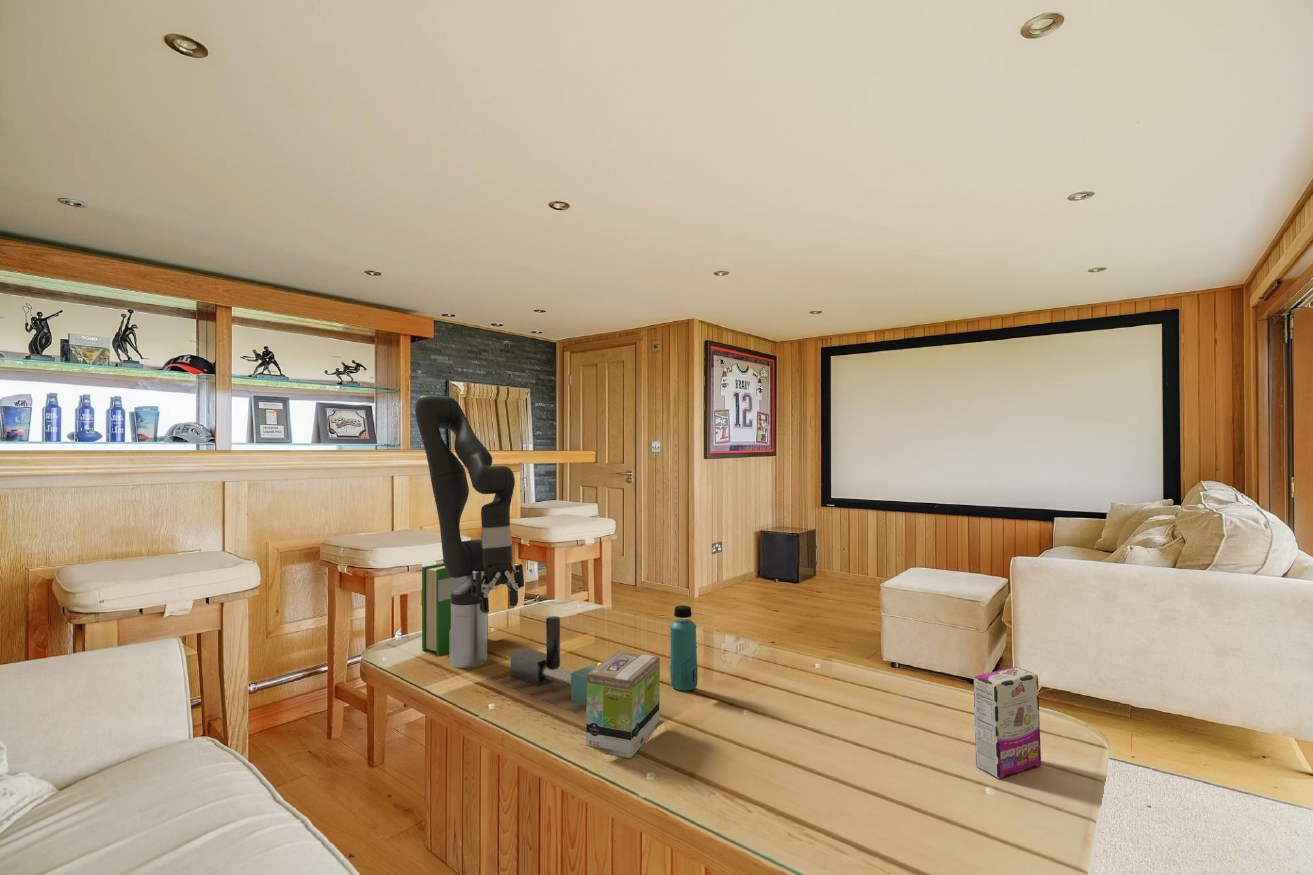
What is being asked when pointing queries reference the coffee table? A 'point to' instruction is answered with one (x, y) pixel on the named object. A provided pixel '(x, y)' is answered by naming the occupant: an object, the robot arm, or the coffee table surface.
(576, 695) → the socket
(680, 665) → the beverage bottle
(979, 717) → the candy bar box
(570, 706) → the base board
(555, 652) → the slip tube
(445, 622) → the hardback book
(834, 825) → the coffee table surface
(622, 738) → the tea box
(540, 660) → the grey block
